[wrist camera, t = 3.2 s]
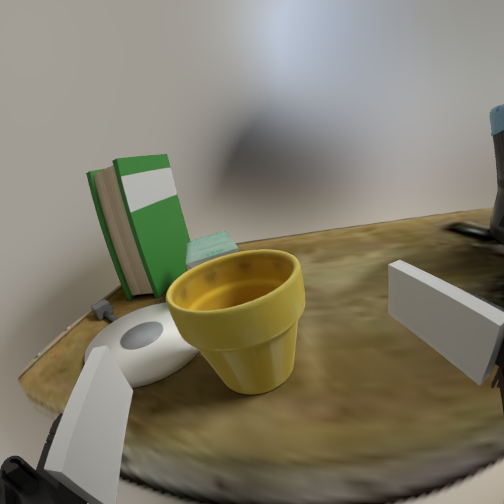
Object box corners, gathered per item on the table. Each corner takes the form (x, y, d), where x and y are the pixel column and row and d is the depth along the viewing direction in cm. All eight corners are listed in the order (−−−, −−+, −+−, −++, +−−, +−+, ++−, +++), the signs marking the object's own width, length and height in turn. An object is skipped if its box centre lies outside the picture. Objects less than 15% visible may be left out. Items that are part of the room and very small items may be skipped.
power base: (237, 324, 32) (232, 310, 31) (119, 412, 20) (109, 398, 19) (138, 292, 49) (134, 282, 49) (64, 333, 37) (59, 323, 37)
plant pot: (319, 406, 18) (304, 296, 15) (191, 413, 20) (141, 317, 17) (311, 329, 27) (296, 240, 24) (217, 341, 29) (189, 260, 26)
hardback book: (159, 297, 45) (116, 158, 37) (127, 300, 46) (86, 173, 39) (195, 259, 61) (167, 154, 54) (168, 263, 63) (139, 164, 55)
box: (236, 267, 50) (225, 228, 48) (253, 298, 38) (240, 247, 35) (197, 279, 49) (185, 240, 47) (202, 314, 36) (184, 264, 34)
